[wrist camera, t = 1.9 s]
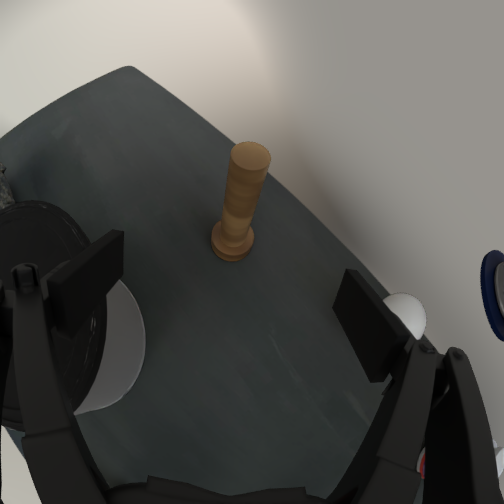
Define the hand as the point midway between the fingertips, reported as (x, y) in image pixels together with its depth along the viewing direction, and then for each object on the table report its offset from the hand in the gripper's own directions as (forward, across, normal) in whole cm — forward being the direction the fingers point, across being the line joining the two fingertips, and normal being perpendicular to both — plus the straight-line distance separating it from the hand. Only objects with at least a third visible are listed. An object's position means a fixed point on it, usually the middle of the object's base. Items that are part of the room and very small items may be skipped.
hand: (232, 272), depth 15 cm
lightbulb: (+13, +19, -12) cm, 26 cm away
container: (+8, -17, -16) cm, 25 cm away
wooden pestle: (+19, 0, -5) cm, 20 cm away
